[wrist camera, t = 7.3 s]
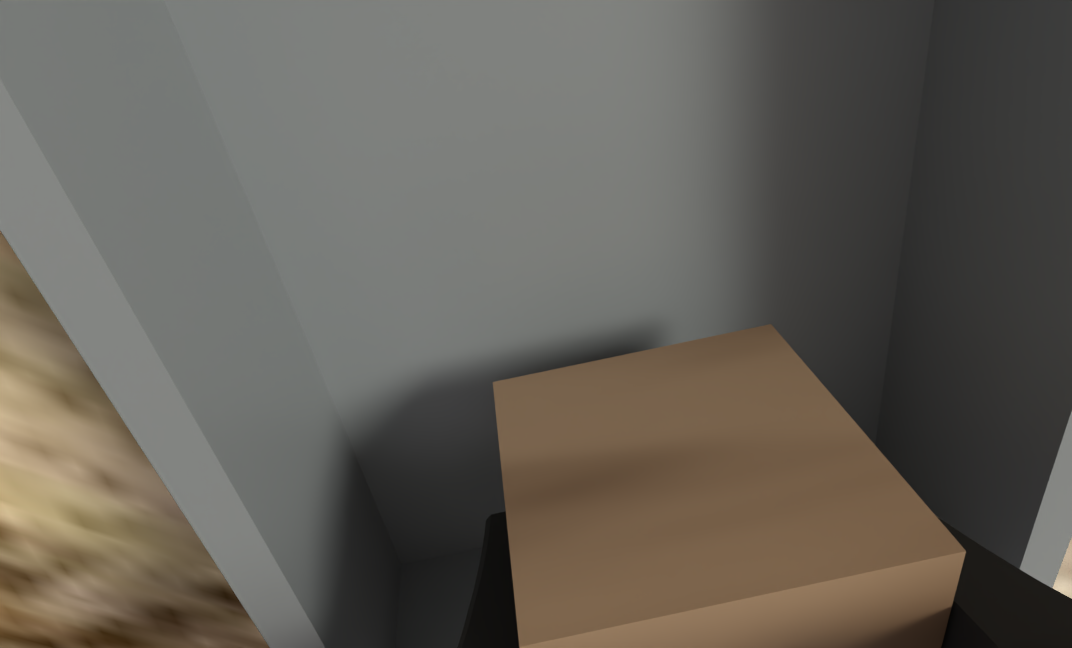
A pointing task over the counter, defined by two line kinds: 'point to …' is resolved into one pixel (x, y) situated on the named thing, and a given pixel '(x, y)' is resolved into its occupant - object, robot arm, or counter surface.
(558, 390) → the walnut cube
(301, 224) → the tote
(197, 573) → the counter surface
